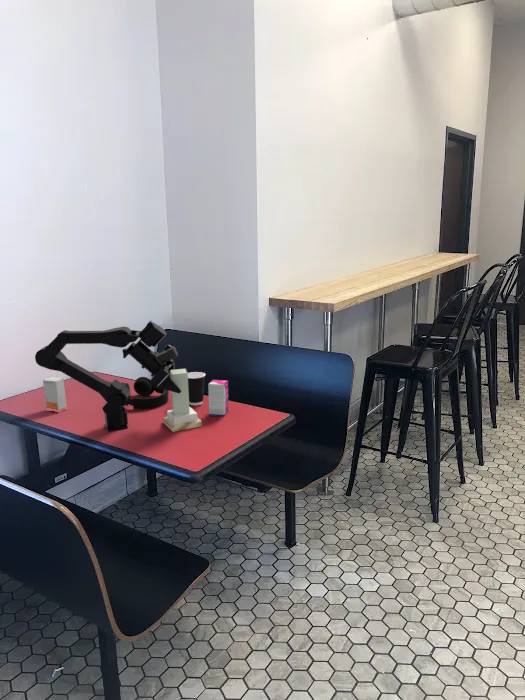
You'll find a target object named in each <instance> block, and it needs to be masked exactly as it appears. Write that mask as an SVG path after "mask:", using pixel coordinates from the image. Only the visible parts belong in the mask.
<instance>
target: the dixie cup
mask: <svg viewBox="0 0 525 700" xmlns="http://www.w3.org/2000/svg"><path fill="white" fill-rule="evenodd" d="M187 373H188V392H189V406H190V405H191V406H200V405H202V404H203V403H204V402H203V401H204V396H205V395H204V394H205V392H204V391H205V379H206V378H205V376H206V373H205V372H202V371H200V372H199V371H193V372H192V371H191V372H187Z"/></svg>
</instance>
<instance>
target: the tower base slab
mask: <svg viewBox="0 0 525 700" xmlns="http://www.w3.org/2000/svg"><path fill="white" fill-rule="evenodd" d="M162 419H163V424H164V425H166V427H168V429H170V430H171V432H172V433H175V432H179V431H184V430H189V429H195V428H199V427H202V426H203V424H202V420H201V419H200V418H199V417H198V421H193V422H187V423H182V424H176V425H174V424H173V423H172V422H171V421H170V420H169V419H168V418H167V416H165V417H162Z"/></svg>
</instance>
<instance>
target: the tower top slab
mask: <svg viewBox="0 0 525 700" xmlns="http://www.w3.org/2000/svg"><path fill="white" fill-rule="evenodd" d="M189 410H190V414H181V415H174V412H173V409H168V410H167V411H166V417H167V418H168V419H169V420H170V421H171V422H172V423H173V424H174V425H176V424H182V423H187V422H193V421H198V418H199V417H198V412H196V411H195V410H194V409H193V408H192V407H190V406H189Z"/></svg>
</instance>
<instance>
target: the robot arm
mask: <svg viewBox="0 0 525 700" xmlns="http://www.w3.org/2000/svg"><path fill="white" fill-rule="evenodd" d="M166 336H167V332H166V331H165V329H164V328H162V327H161V325H158V324H157V323H155V322H153V321H152V320H149V322H147V323H146V325H145V327H144V328H142V330H134V329H133V330H132V329H131V328H130V327H128V326H119V327H114V328H110V329H105V330H66V329H65V330H62V331H60V332H59V333H58V334H57V335H56V337H55V338H54V339H53V340H52V341H51V342H50V343H48V345H45V346H43V347H42V348H40V349H39V350H38V351H37V352H36V353H35V355H34V359H35V363H36V364H37V365H38V366H39V367H41V368H45V369H48V370H51V371H56V372H61V373H63V375H66V376H68V377H69V378H71V379H73V380H75V381H77V382H79V383H80V384H82V385H84V386H86V387H87V388H89V389H90V390H93V391H94V392H96V393H97V394H99V395H100V396H101V397H102V398H103V399H104V401H105V403H104V405H103V407H102V411H103V412H104V422H105V423H104V427H105V428H106V430H107V431H108V432H112V431H117V430H118V431H119V430H122V429H128V428H129V426H128V424H129V421H128V419H129V418H128V412H127V411H126V408H125V407H124V406H126V405H125V404H126V402H127V400H128V399H129V397H130V398H131V391H130V392H129V389H128V388H127V387H126V384H122V382H120V381H119V380H118V379H115V378H114V380H113V381H108V380H105V379H103V378H102V377H100V376H98V375H96V374H95V373H93V372H91V371H89V370H88V369H86V368H84V367H82V366H80V365H79V364H77V363H75V362H73V361H71V360H70V359H68V358H67V356H66V355H65V354H64V352H62V350H63V349H64V348H65V347H66V345H76V344H77V345H80V344H81V345H84V344H85V345H90V344H91V345H93V344H94V345H95V344H102V345H107V346H110V347H116V348H123V349H122V357H123V359H126V358H127V357H128V356H131V357H132V358H133V359H134V360H135V361H136V362H137V363H138V364H140V365H141V367H140V368H142V369H143V370H144V369H146V371H148V372H149V373H150V376H151V378H150V381H151V385H152V386H153V387H155V388H156V387H157V388H161V389H165V390H169V391H170V392H171V393H172V392H176V393H180V392H181V390H180V388H179V387H178V386H177V385H176V384H175V383H174V381H173V380H172V379H171V372H170V370H176V369H175V362H174V359H176V358H178V357H179V353H178V351H177V348H176V347H175V346H174V345H173V346H172V345H171V344H167V345H165V346H164V350H162V351H161V352H158V351H156V350H154V351H153V350H152V349H150V348H151V347H153V348H155V347H157V345H159V343H160V342H161V341H162V340H163V339H164V338H165V337H166ZM138 339H139V340H138ZM137 340H138V341H137ZM136 341H137V342H136ZM135 342H136V343H135ZM128 345H129V346H128ZM127 346H128V347H127ZM126 347H127V348H126Z"/></svg>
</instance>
